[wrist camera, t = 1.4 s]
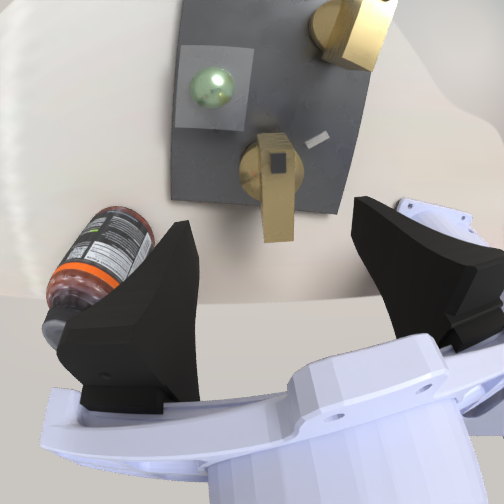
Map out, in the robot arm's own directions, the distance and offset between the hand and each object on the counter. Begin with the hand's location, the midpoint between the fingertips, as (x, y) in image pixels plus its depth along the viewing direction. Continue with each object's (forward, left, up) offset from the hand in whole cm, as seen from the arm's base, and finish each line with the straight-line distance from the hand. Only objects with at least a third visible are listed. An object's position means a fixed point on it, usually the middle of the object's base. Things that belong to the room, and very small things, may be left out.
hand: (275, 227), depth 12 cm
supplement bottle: (+11, +7, -9) cm, 15 cm away
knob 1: (0, 0, -7) cm, 7 cm away
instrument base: (0, -5, -9) cm, 10 cm away
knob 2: (-3, -10, -7) cm, 13 cm away
